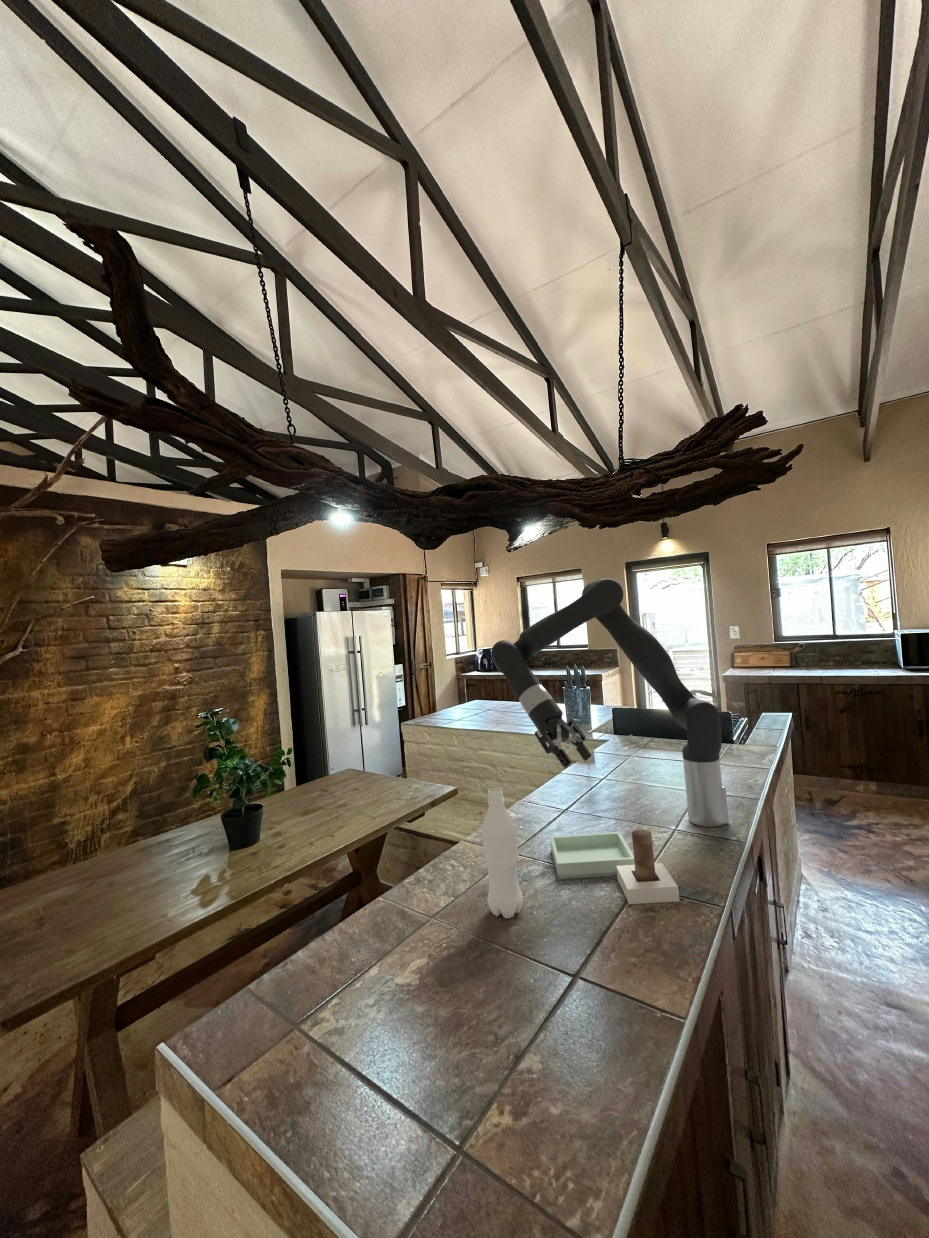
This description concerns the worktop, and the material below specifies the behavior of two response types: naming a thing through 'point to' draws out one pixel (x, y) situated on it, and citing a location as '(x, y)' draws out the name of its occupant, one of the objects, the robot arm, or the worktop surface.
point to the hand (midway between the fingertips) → (578, 761)
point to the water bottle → (501, 857)
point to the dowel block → (647, 886)
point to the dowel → (643, 856)
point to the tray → (590, 855)
